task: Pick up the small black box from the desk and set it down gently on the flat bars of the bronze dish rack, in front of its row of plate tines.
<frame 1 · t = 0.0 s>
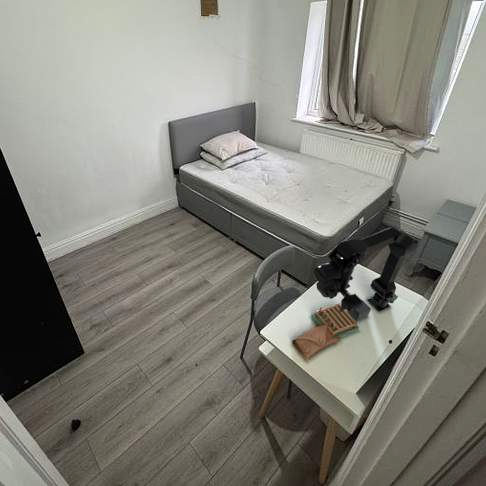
hand: (332, 301, 108), 15 cm above the table, tool pointing down, fingers open, 9 cm apart
black box: (357, 314, 120), on the table
sunglasses case: (316, 342, 111), on the table, touching dish rack
dish rack: (333, 323, 117), on the table
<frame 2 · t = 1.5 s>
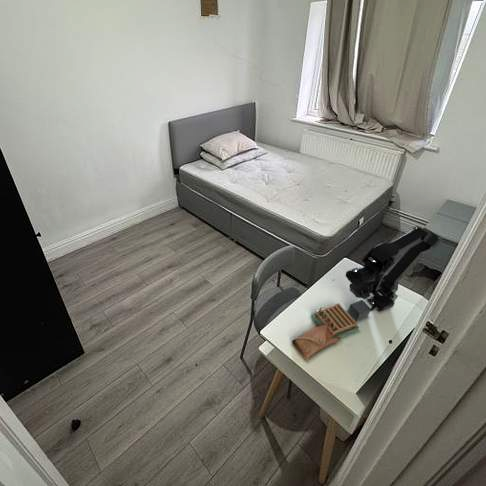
hand: (362, 301, 115), 8 cm above the table, tool pointing down, fingers open, 9 cm apart
nothing on the table moved.
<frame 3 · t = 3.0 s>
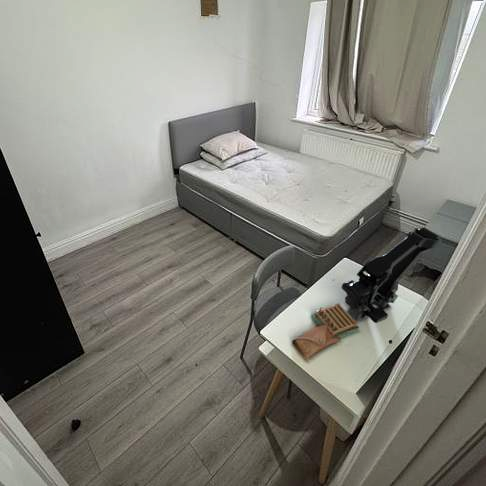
hand: (357, 313, 120), 1 cm above the table, tool pointing down, fingers closed on black box, 5 cm apart
black box: (357, 314, 120), on the table, touching gripper
everything else where it was.
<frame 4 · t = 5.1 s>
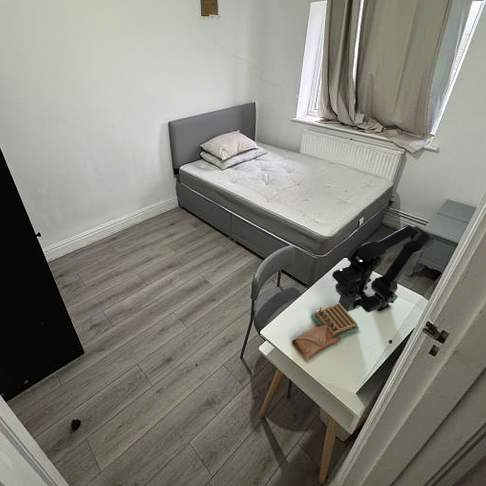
hand: (349, 303, 112), 11 cm above the table, tool pointing down, fingers closed on black box, 5 cm apart
black box: (348, 304, 112), point 10 cm above the table, touching gripper
everything else where it was.
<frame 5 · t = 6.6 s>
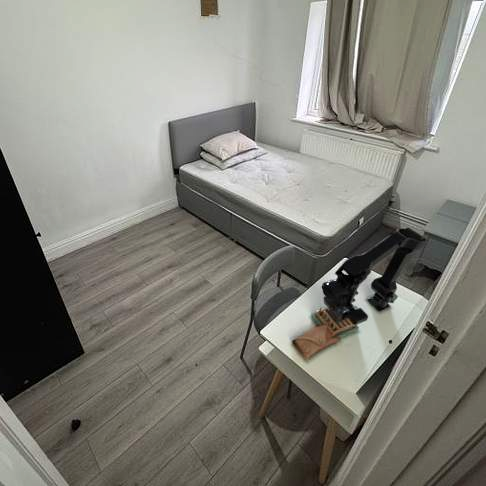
hand: (338, 314, 114), 6 cm above the table, tool pointing down, fingers closed on black box, 5 cm apart
black box: (337, 315, 114), point 5 cm above the table, touching gripper
everything else where it was.
when the fingers open (5 cm above the table, at t = 7.4 s): black box stays where it is, resting on dish rack.
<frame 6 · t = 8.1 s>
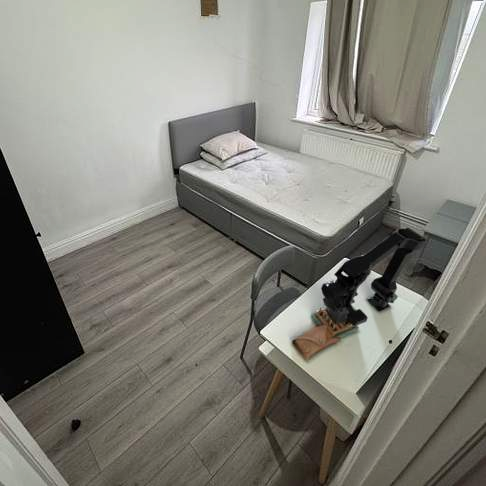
hand: (337, 315, 114), 5 cm above the table, tool pointing down, fingers open, 9 cm apart
black box: (337, 317, 115), point 4 cm above the table, touching dish rack
everything else where it was.
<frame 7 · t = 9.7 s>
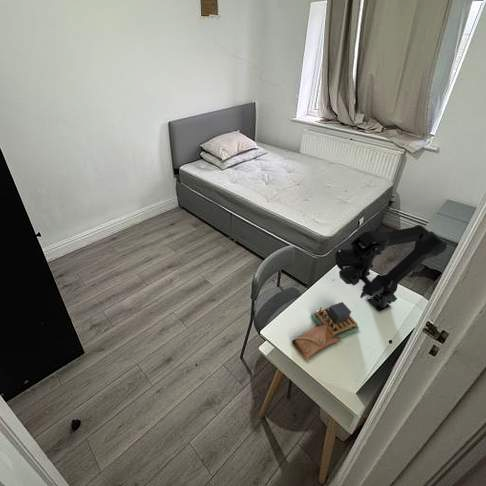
hand: (352, 289, 117), 12 cm above the table, tool pointing down, fingers open, 9 cm apart
nothing on the table moved.
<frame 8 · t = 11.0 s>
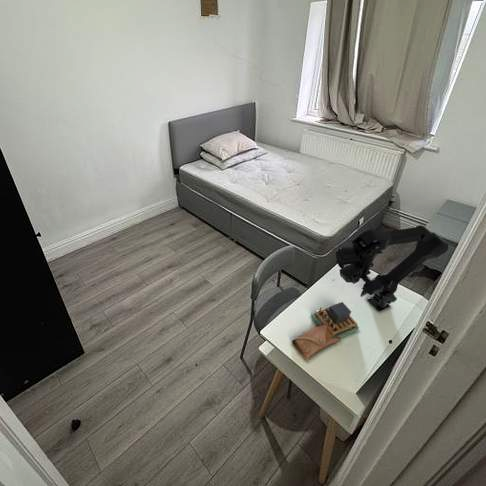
hand: (353, 287, 117), 12 cm above the table, tool pointing down, fingers open, 9 cm apart
nothing on the table moved.
at the end: black box 0.2 cm off-centre on the dish rack, point 4.0 cm above the dish rack's base; black box tilted 0°; the gripper is holding nothing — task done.
